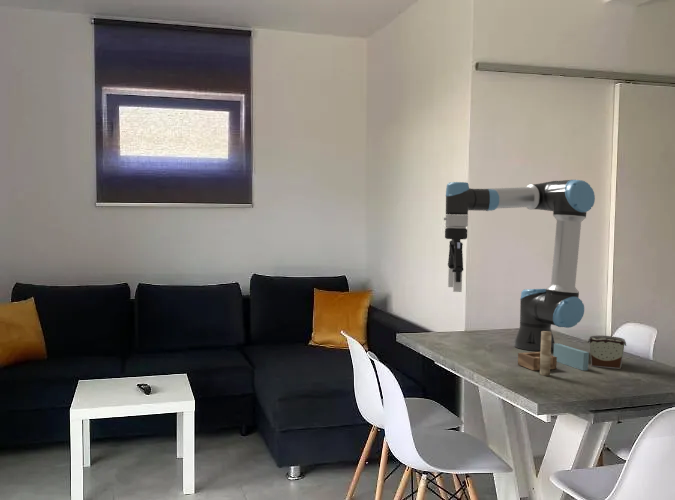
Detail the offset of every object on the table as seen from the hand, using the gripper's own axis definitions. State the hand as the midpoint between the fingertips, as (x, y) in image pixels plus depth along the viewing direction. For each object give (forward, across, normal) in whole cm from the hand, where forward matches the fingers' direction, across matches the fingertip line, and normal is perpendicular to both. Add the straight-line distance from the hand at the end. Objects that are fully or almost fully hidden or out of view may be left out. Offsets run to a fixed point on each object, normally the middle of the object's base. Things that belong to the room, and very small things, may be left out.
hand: (454, 289), depth 235 cm
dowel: (+26, +14, +28) cm, 40 cm away
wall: (+26, -1, +40) cm, 48 cm away
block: (+26, +3, +28) cm, 38 cm away
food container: (+26, -2, +53) cm, 59 cm away
